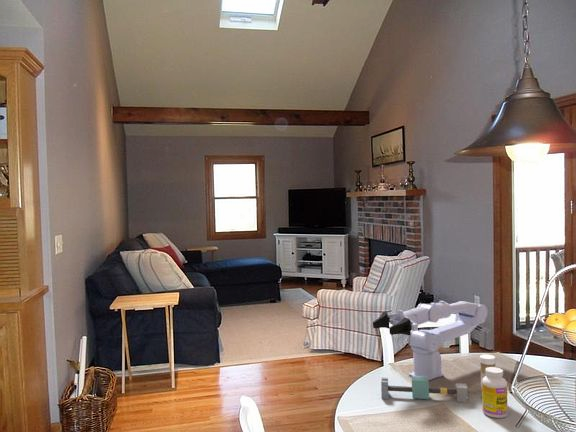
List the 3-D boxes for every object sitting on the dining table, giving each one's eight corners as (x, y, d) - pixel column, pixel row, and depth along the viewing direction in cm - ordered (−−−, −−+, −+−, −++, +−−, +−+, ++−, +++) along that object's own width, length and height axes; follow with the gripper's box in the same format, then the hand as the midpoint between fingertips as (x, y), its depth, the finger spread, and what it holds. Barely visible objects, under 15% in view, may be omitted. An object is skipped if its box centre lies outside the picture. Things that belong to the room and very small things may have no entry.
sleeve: (412, 398, 147) (411, 380, 147) (412, 392, 151) (411, 375, 151) (429, 398, 146) (428, 381, 146) (428, 393, 150) (427, 376, 150)
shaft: (386, 391, 151) (386, 386, 150) (386, 389, 152) (386, 385, 152) (462, 395, 145) (462, 390, 145) (462, 393, 147) (461, 388, 147)
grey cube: (457, 402, 145) (456, 387, 144) (456, 397, 148) (455, 383, 148) (469, 402, 144) (469, 388, 144) (467, 397, 147) (467, 383, 147)
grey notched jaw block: (381, 398, 149) (381, 382, 149) (382, 392, 154) (381, 376, 154) (388, 399, 149) (387, 382, 149) (388, 392, 154) (387, 376, 153)
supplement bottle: (497, 421, 132) (495, 375, 131) (477, 412, 138) (476, 368, 137) (512, 415, 135) (511, 370, 134) (493, 406, 141) (492, 364, 140)
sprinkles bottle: (500, 400, 145) (499, 356, 144) (490, 403, 143) (488, 359, 142) (487, 394, 149) (486, 352, 148) (477, 398, 147) (476, 355, 146)
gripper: (394, 303, 168) (366, 311, 161) (426, 311, 156) (397, 321, 149) (395, 322, 169) (367, 331, 161) (427, 332, 157) (398, 342, 149)
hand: (381, 327), depth 155 cm, fingers open, 7 cm apart
